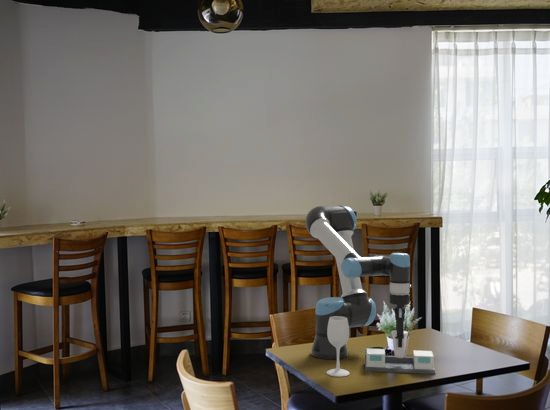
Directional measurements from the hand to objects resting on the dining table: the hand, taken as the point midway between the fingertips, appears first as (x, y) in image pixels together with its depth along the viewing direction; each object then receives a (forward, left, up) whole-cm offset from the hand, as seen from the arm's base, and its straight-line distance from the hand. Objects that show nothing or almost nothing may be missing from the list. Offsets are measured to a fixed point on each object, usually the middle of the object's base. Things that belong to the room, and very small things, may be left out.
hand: (399, 353), depth 245 cm
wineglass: (-23, -10, -6) cm, 26 cm away
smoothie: (0, 0, -2) cm, 2 cm away
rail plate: (0, 0, -6) cm, 6 cm away
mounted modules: (0, -1, -5) cm, 5 cm away
